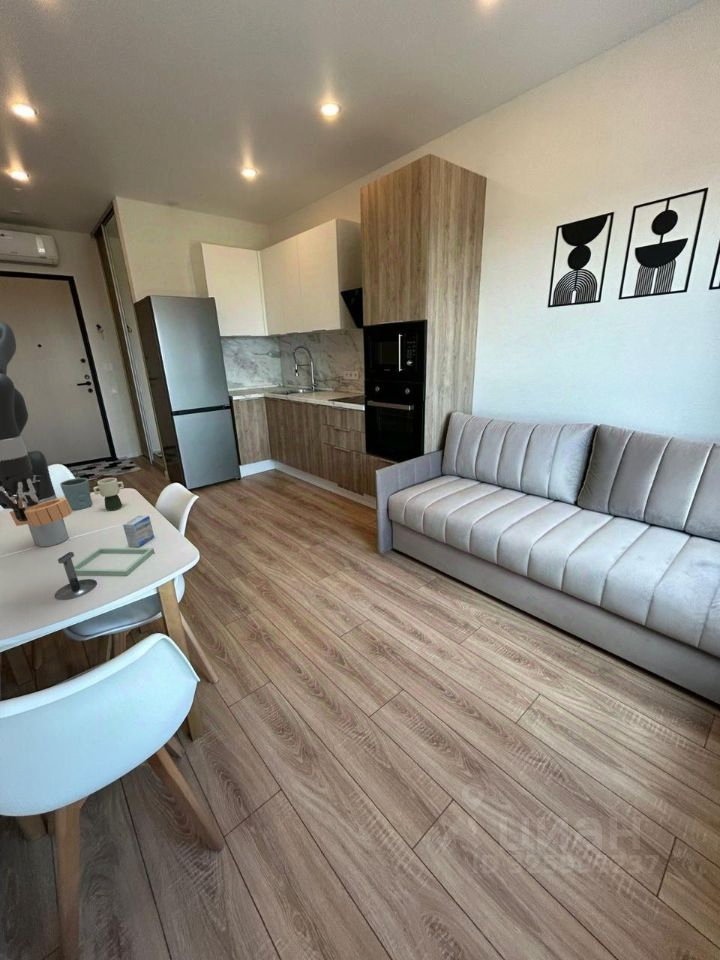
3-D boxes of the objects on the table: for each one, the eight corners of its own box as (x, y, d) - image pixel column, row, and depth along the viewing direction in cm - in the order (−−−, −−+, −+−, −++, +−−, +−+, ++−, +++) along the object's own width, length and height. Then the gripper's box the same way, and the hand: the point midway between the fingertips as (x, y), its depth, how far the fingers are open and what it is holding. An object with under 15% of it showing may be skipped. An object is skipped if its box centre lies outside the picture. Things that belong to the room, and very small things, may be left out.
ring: (5, 531, 100) (-2, 517, 99) (36, 516, 108) (29, 503, 107) (52, 523, 98) (45, 509, 97) (80, 509, 106) (74, 495, 105)
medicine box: (139, 547, 134) (133, 525, 131) (128, 546, 135) (122, 524, 132) (154, 537, 142) (149, 515, 139) (144, 536, 142) (139, 514, 140)
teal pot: (73, 504, 176) (66, 479, 172) (98, 501, 179) (91, 476, 175) (63, 512, 167) (55, 486, 163) (89, 509, 169) (82, 483, 165)
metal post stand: (46, 602, 106) (32, 565, 102) (74, 581, 115) (63, 546, 111) (80, 603, 105) (68, 565, 101) (106, 582, 114) (95, 547, 111)
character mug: (127, 502, 175) (120, 475, 171) (129, 507, 170) (122, 479, 166) (98, 509, 169) (91, 481, 165) (100, 514, 164) (92, 485, 159)
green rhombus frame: (68, 577, 117) (66, 570, 117) (101, 554, 131) (99, 547, 130) (127, 578, 116) (126, 571, 115) (155, 554, 129) (153, 548, 128)
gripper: (19, 448, 105) (39, 507, 110) (-35, 463, 91) (-9, 529, 97) (45, 448, 104) (63, 507, 110) (-6, 463, 91) (18, 529, 96)
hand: (29, 517), depth 103 cm, fingers closed on ring, 3 cm apart
